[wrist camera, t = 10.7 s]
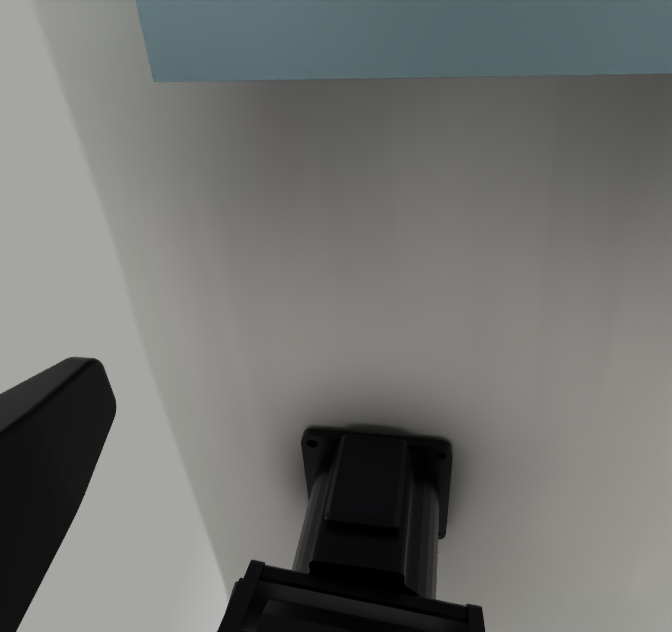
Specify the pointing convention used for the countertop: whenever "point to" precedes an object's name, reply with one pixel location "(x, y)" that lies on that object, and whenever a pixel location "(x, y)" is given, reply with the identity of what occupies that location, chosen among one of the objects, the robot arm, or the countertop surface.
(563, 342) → the countertop surface
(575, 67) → the hole block
